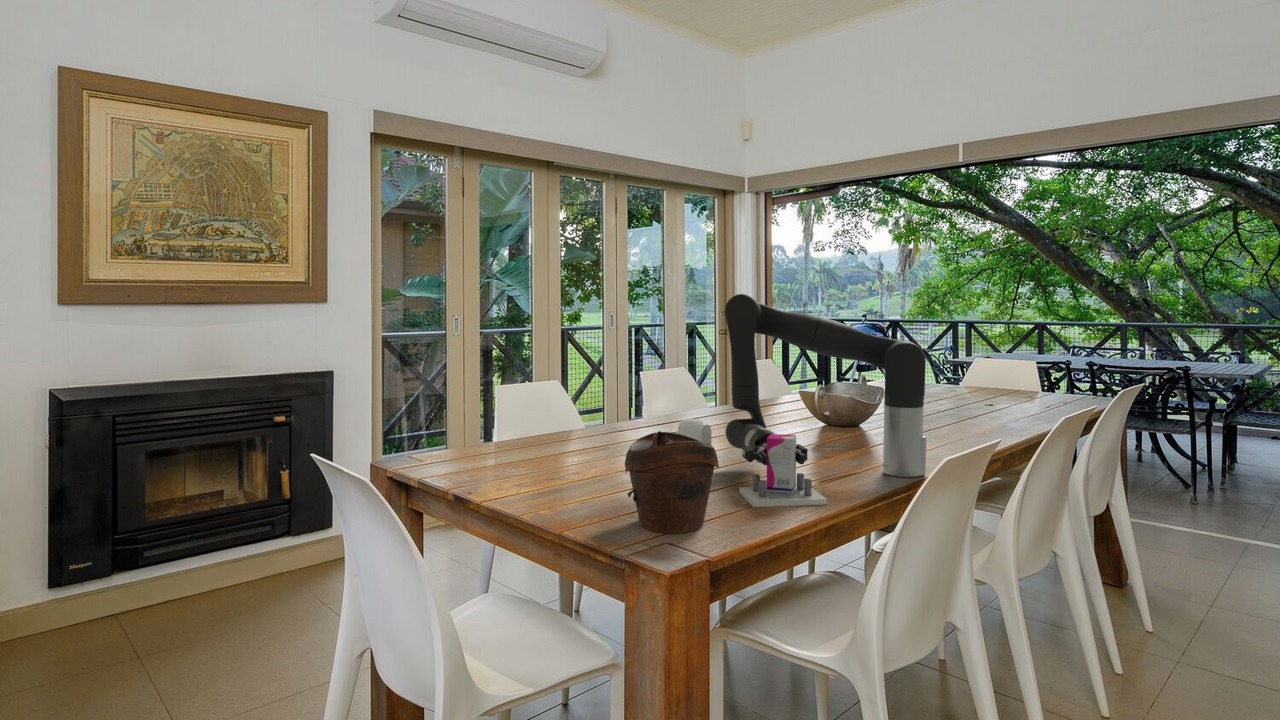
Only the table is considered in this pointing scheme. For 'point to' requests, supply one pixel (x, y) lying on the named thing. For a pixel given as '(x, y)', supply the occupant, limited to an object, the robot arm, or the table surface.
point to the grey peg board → (782, 494)
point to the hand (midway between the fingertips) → (784, 460)
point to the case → (670, 481)
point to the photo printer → (695, 430)
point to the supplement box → (781, 462)
